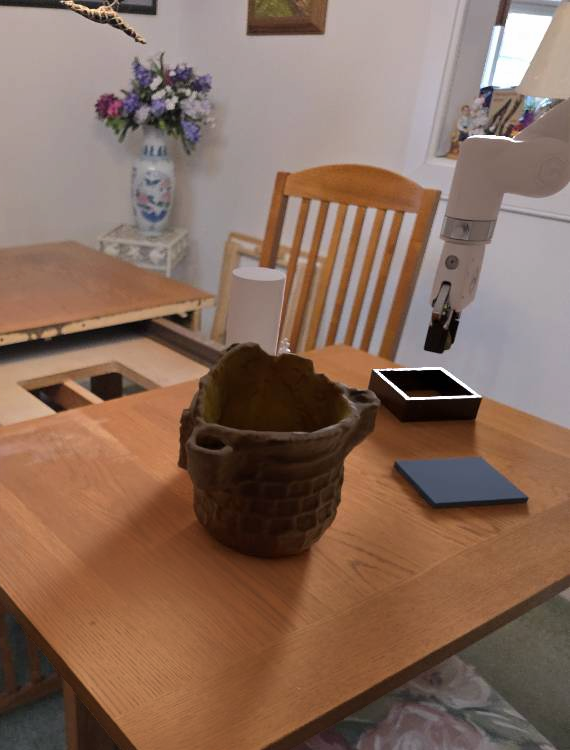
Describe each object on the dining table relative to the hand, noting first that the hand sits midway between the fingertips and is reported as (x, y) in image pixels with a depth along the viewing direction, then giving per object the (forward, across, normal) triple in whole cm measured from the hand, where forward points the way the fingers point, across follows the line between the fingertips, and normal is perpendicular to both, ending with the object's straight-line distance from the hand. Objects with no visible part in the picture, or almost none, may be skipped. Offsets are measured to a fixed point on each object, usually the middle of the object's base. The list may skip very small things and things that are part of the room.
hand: (438, 346), depth 117 cm
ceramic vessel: (+10, -55, +4) cm, 56 cm away
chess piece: (+10, -13, +22) cm, 27 cm away
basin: (+11, 0, +1) cm, 11 cm away
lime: (+1, 0, 0) cm, 1 cm away
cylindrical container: (+10, -34, +18) cm, 40 cm away
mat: (+11, -25, -13) cm, 30 cm away
